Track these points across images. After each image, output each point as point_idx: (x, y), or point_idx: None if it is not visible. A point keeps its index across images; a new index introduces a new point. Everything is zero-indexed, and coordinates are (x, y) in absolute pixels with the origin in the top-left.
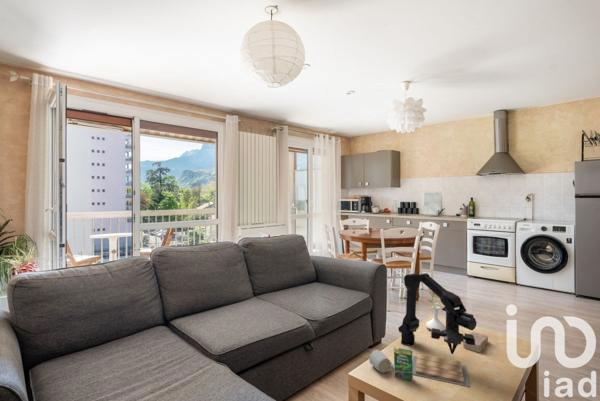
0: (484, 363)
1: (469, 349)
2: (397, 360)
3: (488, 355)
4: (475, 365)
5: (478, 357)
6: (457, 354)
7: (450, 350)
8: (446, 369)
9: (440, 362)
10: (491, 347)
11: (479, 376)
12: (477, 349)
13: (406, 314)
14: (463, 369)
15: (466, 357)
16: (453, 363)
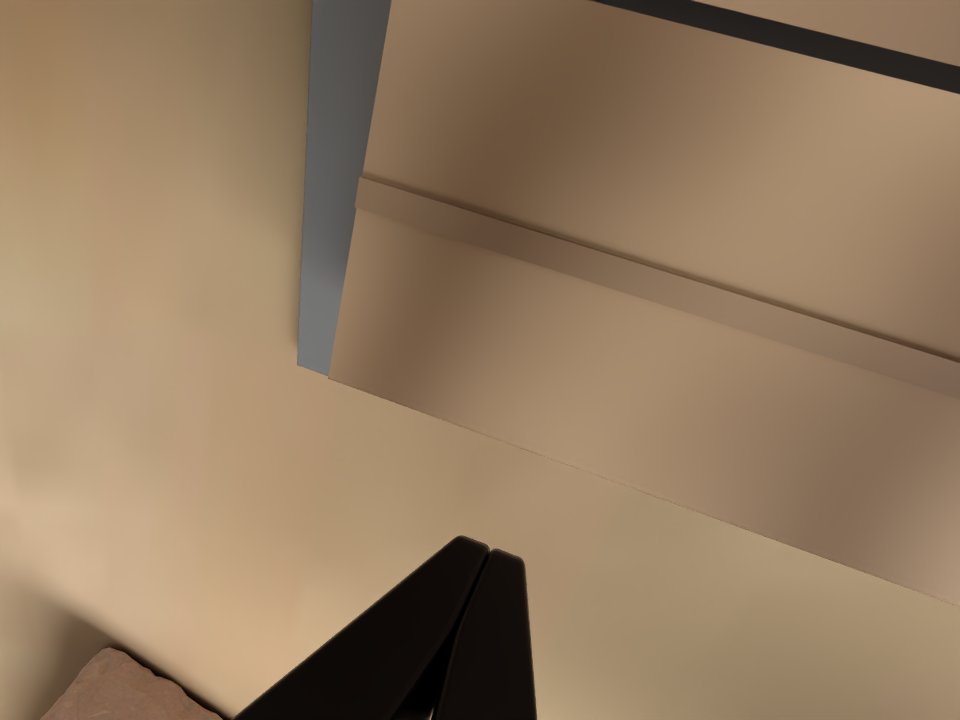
0: (43, 434)
1: (209, 712)
2: None
3: (20, 585)
4: (153, 386)
5: (118, 564)
6: None
7: (521, 691)
8: (893, 42)
9: (943, 385)
10: (11, 695)
11: (86, 3)
12: (98, 687)
13: None
14: None
15: (263, 582)
16: (542, 333)
